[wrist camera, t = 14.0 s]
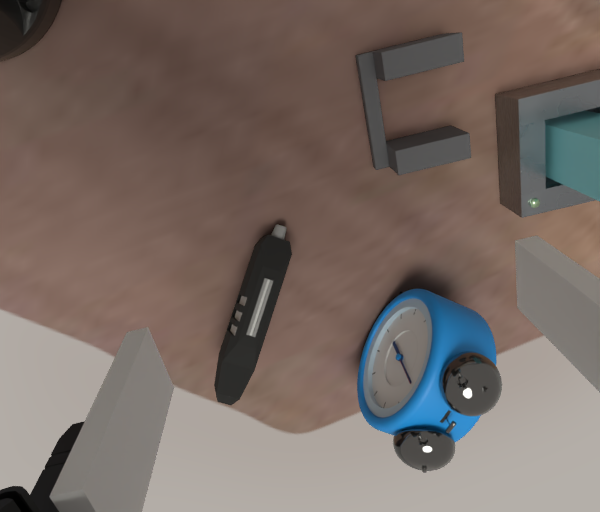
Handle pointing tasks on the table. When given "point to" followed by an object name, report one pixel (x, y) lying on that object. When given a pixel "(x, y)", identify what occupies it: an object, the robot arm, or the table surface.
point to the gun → (252, 315)
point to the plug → (574, 151)
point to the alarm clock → (427, 376)
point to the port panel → (538, 141)
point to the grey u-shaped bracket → (398, 63)
